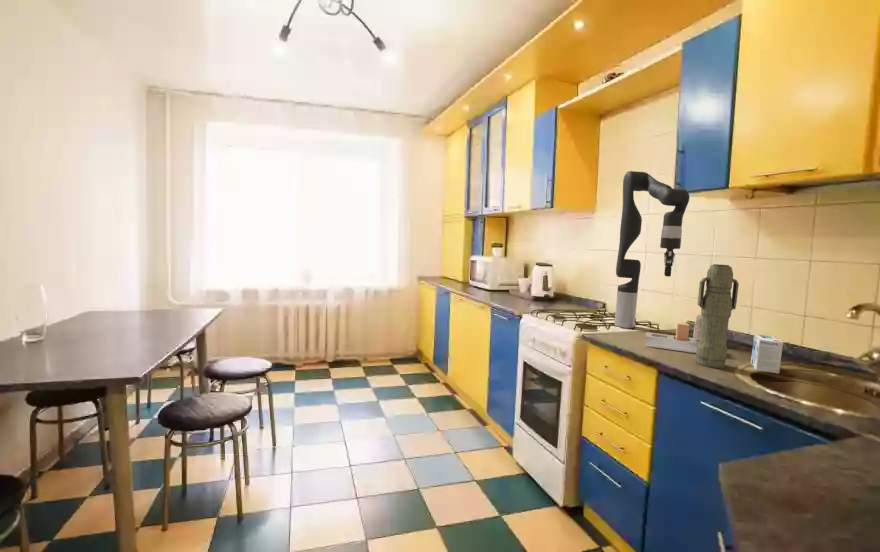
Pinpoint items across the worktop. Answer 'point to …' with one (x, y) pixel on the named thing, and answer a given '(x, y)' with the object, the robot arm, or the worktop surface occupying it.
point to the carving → (697, 327)
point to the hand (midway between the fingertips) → (667, 275)
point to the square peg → (682, 331)
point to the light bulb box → (766, 353)
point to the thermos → (715, 315)
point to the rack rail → (671, 342)
